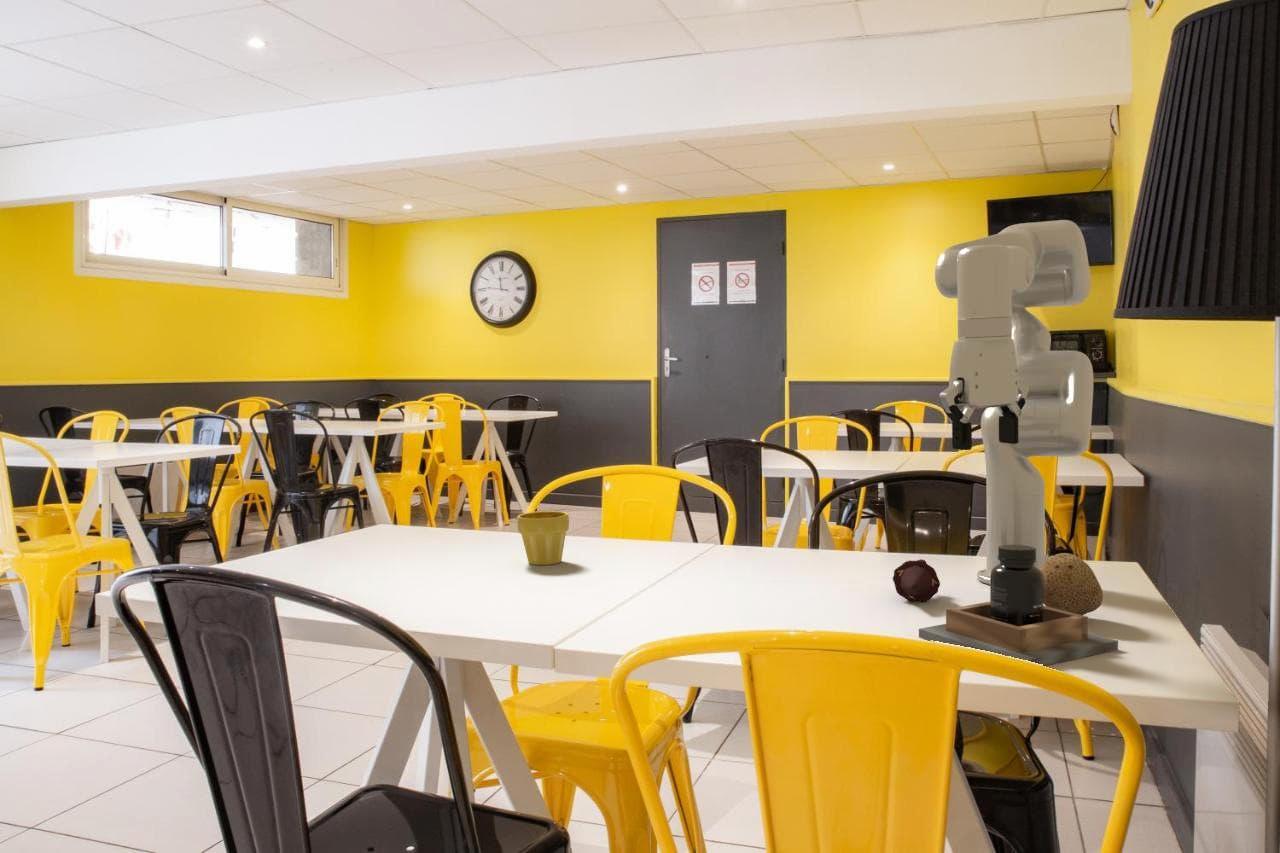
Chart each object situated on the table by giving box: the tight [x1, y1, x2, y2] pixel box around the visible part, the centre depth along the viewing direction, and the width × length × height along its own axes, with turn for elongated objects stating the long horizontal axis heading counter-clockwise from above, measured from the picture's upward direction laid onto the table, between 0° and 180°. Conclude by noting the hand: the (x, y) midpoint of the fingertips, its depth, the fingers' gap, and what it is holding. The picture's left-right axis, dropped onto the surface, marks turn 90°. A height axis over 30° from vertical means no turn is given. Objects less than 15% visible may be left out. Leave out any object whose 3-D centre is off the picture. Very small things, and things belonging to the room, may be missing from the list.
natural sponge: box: [1039, 552, 1104, 616], centre depth 145 cm, size 9×9×10 cm
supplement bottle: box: [989, 545, 1044, 627], centre depth 133 cm, size 7×7×12 cm
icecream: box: [892, 558, 941, 603], centre depth 159 cm, size 7×7×15 cm
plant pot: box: [516, 510, 570, 566], centre depth 197 cm, size 10×10×10 cm
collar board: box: [918, 601, 1119, 666], centre depth 133 cm, size 18×18×4 cm
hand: (985, 446), depth 145 cm, fingers open, 9 cm apart
